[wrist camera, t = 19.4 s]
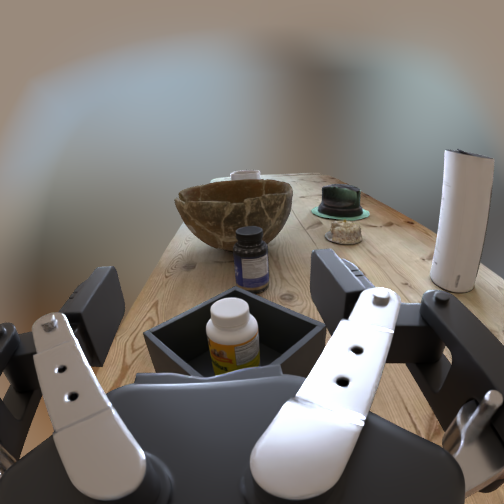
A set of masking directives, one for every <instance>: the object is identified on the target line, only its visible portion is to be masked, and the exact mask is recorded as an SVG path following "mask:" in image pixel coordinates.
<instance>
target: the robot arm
mask: <svg viewBox="0 0 504 504" xmlns="http://www.w3.org/2000/svg"><path fill="white" fill-rule="evenodd" d="M310 293H311V297H312V300H313V302H314V304H315V306H316V308H317V310H318V312H319V313H320V315H321V317H322V319H323V321H324V323H325V325H326V327H327V329H328V331H329V333H330V334H331V336H332V337H331V339H330V341H329V343H328V344H327V346H326V348H325V349H324V351H323V353H322V355H321V356H320V358H319V360H318V361H317V363H316V365H315V366H314V368H313V370H312V371H311V373H310V374H309V376H308V378H305V377H300V376H296V375H289V374H283V373H282V369H281V365H280V364H276V365H268V366H259V367H250V368H243V369H239V370H235V371H232V372H228V373H224V374H220V375H216V376H212V377H208V378H203V377H195V376H188V375H182V374H175V373H137V374H136V378H135V382H134V383H133V384H129V385H125V386H122V387H119V388H117V389H114V390H112V391H110V392H109V393H107V394H105V393H104V391H103V389H102V387H101V386H100V384H99V382H98V380H97V378H96V377H95V375H94V373H93V371H92V369H91V367H90V366H92V367H103V364H104V362H105V359H106V357H107V354H108V352H109V349H110V347H111V344H112V342H113V339H114V337H115V334H116V332H117V330H118V327H119V325H120V322H121V320H122V318H123V316H124V312H125V302H124V298H123V294H122V291H121V286H120V282H119V279H118V274H117V271H116V269H115V267H114V266H111V267H110V266H109V267H97V268H96V269H95V270H94V272H93V273H92V274H91V276H90V277H89V278H88V279H87V280H86V281H84V282H83V283H81V284H80V285H79V286H78V287H77V288H76V289H75V290H74V292H73V294H71V296H70V297H69V299H68V300H67V301H66V303H65V304H64V305H63V307H62V308H61V309H60V311H59V312H57V313H50V314H47V315H45V316H42V317H41V318H39V319H38V320H37V321H36V322H35V323H34V324H33V326H32V332H28V333H23V334H18V333H17V331H16V328H15V326H14V325H13V324H12V323H2V324H0V376H1V374H2V372H4V374H5V376H6V377H7V379H8V380H9V382H10V384H11V385H10V387H9V389H8V391H7V392H6V394H5V397H4V399H3V401H2V400H1V398H0V504H464V502H465V498H467V497H469V496H471V495H472V494H474V493H476V492H478V491H479V492H482V493H489V492H492V491H494V490H496V489H497V488H498V487H499V486H501V485H502V484H503V483H504V345H503V344H502V343H501V342H500V341H499V340H498V339H497V338H496V337H495V336H494V335H493V334H492V333H491V332H490V331H489V330H488V329H487V328H486V326H485V325H484V324H483V323H482V322H481V321H480V320H479V319H478V318H477V317H476V316H475V315H474V314H473V313H472V312H471V311H470V310H468V309H467V308H466V307H465V306H464V305H463V304H462V303H461V302H460V301H459V300H458V299H457V298H456V297H455V296H454V295H452V294H450V293H448V292H445V291H442V290H429V291H426V292H425V293H424V294H423V297H422V301H421V304H420V303H401V298H400V296H399V295H398V294H397V293H395V292H393V291H391V290H389V289H385V288H375V286H374V285H373V284H372V283H371V282H370V281H369V280H368V279H367V278H366V277H365V276H364V274H363V273H362V272H361V271H359V269H358V268H357V267H356V266H355V265H354V264H353V263H351V262H349V261H347V260H345V259H340V258H339V257H338V256H337V255H336V254H335V252H334V251H333V250H332V249H319V250H313V251H312V254H311V273H310ZM445 346H447V348H448V349H449V350H450V352H451V355H452V365H451V363H450V362H449V361H448V359H447V358H446V357H445V355H444V354H443V351H444V348H445ZM385 363H405V364H406V366H407V367H408V369H409V371H410V372H411V374H412V376H413V377H414V379H415V381H416V382H417V384H418V386H419V388H420V389H421V391H422V393H423V394H424V396H425V398H426V400H427V401H428V403H429V405H430V407H431V408H432V410H433V412H434V414H435V416H436V417H437V419H438V421H439V423H440V425H441V426H442V428H443V430H444V432H445V433H444V435H443V439H442V446H443V448H442V447H441V446H439V445H437V444H435V443H433V442H430V441H428V440H426V439H424V438H422V437H420V436H418V435H416V434H414V433H411V432H409V431H407V430H405V429H403V428H401V427H399V426H397V425H395V424H393V423H391V422H390V421H388V420H386V419H384V418H382V417H380V416H378V415H376V414H374V413H372V412H370V408H371V405H372V402H373V400H374V397H375V394H376V391H377V388H378V385H379V382H380V379H381V376H382V373H383V369H384V366H385ZM42 395H43V398H44V401H45V404H46V408H47V411H48V414H49V417H50V420H51V423H52V425H53V429H54V432H53V435H51V436H50V437H49V438H47V439H46V440H45V441H43V442H42V443H41V444H40V445H38V446H37V447H36V448H34V449H33V450H31V451H30V452H29V453H27V454H26V455H25V456H23V457H22V458H21V459H19V458H20V455H21V452H22V449H23V446H24V442H25V440H26V437H27V434H28V431H29V428H30V426H31V423H32V420H33V417H34V415H35V412H36V409H37V407H38V405H39V402H40V399H41V397H42Z"/></svg>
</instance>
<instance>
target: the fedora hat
mask: <svg viewBox="0 0 504 504" xmlns="http://www.w3.org/2000/svg"><path fill="white" fill-rule="evenodd" d="M360 191H361V190H360V189H359V188H358V187H355V186H352V185H345V184H332V185H328V186H324V187H322V203H321V204H320V205H319V206H318V207H315V208H313V209H312V213H314V214H316V215H318V216H320V217H326V218H333V219H340V220H344V219H345V220H350V221H353V220H358V219H363V218H365V217H368V216H369V212H368V211H366V210H364V209H362V207H361V206H360V194H361V193H360Z"/></svg>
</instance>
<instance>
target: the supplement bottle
mask: <svg viewBox="0 0 504 504" xmlns="http://www.w3.org/2000/svg"><path fill="white" fill-rule="evenodd" d="M210 311H211V319H210V320H209V321H208V323H207V325H206V334H207V339H208V344H209V350H210V355H211V360H212V365H213V370H214V375H215V376H216V375H220V374H224V373H228V372H232V371H235V370H239V369H243V368H250V367H259V366H260V352H259V336H258V324H257V321H256V319H255V318H254V317H253V316H252V315H251V314H250V313H249V306H248V304H247V302H246V301H244V300H242V299H239V298H224V299H221V300H218V301H216V302H215V303H214V304H213V305H212V306H211V309H210Z"/></svg>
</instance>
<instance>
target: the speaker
mask: <svg viewBox="0 0 504 504" xmlns="http://www.w3.org/2000/svg"><path fill="white" fill-rule="evenodd" d="M457 150H458V151H454V150H445V159H444V177H443V190H442V201H441V211H440V219H439V227H438V233H437V240H436V246H435V252H434V257H433V262H432V267H431V272H430V276H431V279H432V281H433V282H434V283H435V284H436V285H437V286H439V287H440V288H442V289H444V290H447V291H450V292H456V293H465V292H469V291H471V290H472V289H473V287H474V284H475V281H476V277H477V273H478V269H479V265H480V260H481V255H482V251H483V246H484V241H485V235H486V230H487V224H488V218H489V210H490V202H491V194H492V184H493V172H494V159H493V158H490V157H486V156H482V155H478V154H473V153H467V152H464V151H461V150H459V149H457Z"/></svg>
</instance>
